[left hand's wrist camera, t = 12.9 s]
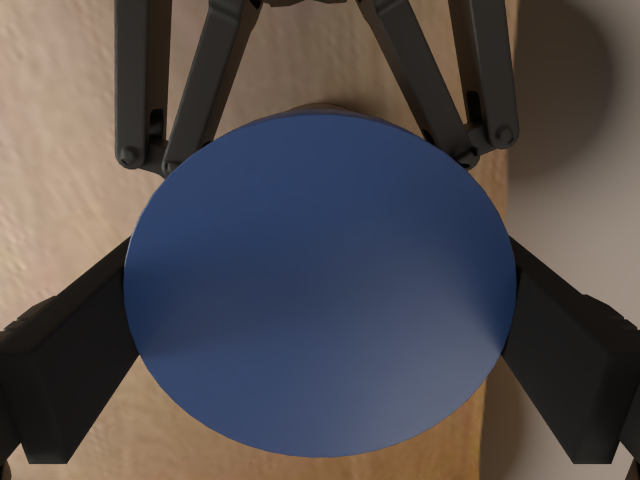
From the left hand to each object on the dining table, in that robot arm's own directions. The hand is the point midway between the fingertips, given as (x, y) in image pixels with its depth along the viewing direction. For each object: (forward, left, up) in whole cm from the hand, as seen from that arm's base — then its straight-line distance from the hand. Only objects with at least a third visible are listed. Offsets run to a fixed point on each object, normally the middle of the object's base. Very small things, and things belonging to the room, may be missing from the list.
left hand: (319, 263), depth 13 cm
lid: (0, 0, +3) cm, 3 cm away
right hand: (-4, -1, -5) cm, 7 cm away
